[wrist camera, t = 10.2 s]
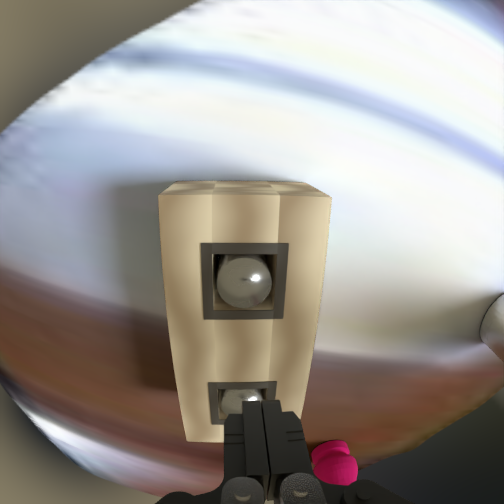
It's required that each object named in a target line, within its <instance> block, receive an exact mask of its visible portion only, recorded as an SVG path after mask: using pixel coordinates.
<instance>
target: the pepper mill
mask: <svg viewBox="0 0 504 504" xmlns="http://www.w3.org/2000/svg"><path fill="white" fill-rule="evenodd" d="M311 457H312V461H313V464H314V465H315V467H314V469H313V472H314V474H315V475H316V476H317V477H318V478H319V479H320V480H322V481H324V482H326V483H329V484H337V485H349V484H351V483H352V482H354V481H356V478H357V472H358V467H357V463H356V460H355V458H354V457H352V456H351V455H349V449H348V446H347V444H346V443H345V442H344V441H341V440H333V441H328V442H325V443H323V444H320V445H319V446H317V447H316V448H315V449H314V450H313V451H312V453H311Z"/></svg>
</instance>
